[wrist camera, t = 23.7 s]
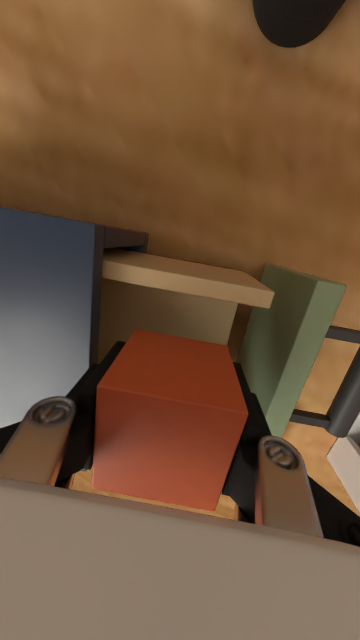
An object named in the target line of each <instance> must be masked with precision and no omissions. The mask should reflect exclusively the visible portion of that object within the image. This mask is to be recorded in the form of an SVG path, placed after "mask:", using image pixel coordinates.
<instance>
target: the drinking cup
mask: <svg viewBox="0 0 360 640" xmlns="http://www.w3.org/2000/svg"><path fill="white" fill-rule="evenodd" d="M345 1H346V0H253V6H254V13H255V17H256V20H257V23H258V25H259V27H260V29H261V31H262V32H263V34H264V35H265V36H266V37H267V38H268V39H269V40H270V41H271V42H273V43H274V44H276V45H278V46H282V47H297V46H301V45H304V44H306V43H308V42H309V41H311V40H313V39H314V38H315V37H317V36H318V35H319V34H320V33H321V32H322V31H323V30H324V29H325V28H326V27H327V25H328V24H329V23H330V21H331V20H332V19H333V17H334V16H335V14H336V13H337V12H338V10H339V9H340V8H341V6H342V5H343V4H344V2H345Z"/></svg>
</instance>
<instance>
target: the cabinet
mask: <svg viewBox="0 0 360 640" xmlns="http://www.w3.org/2000/svg"><path fill="white" fill-rule="evenodd" d="M147 240H148V233H146V232H140V231H135V230H129V229H124V228H118V227H113V226H107V225H102V224H96V223H91V222H85V221H80V220H74V219H69V218H63V217H58V216H52V215H47V214H41V213H36V212H30V211H25V210H19V209H14V208H8V207H3V206H0V428H3V427H6V426H9V425H12V424H14V423H17V422H20V421H22V420H23V418H24V416H25V415H26V413H27V412H28V410H29V409H30V408H31V407H32V406H33V405H34V404H35V403H37V402H38V401H40V400H43V399H45V398H49V397H53V396H63V397H65V396H66V395H67V394H68V393H69V392H70V390H71V389H72V388H73V387H74V386H75V384H76V383H77V382H78V381H79V380H80V378H81V377H82V376H83V375H84V374H85V372H86V371H87V370H88V369H89V368H90V366H91V365H92V364H97V362H98V343H99V323H100V304H101V284H102V265H103V248H117V249H123V250H128V251H134V252H139V253H145V254H146V249H147ZM86 470H87V469H82V470H81V471H86Z"/></svg>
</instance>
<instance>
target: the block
mask: <svg viewBox="0 0 360 640" xmlns="http://www.w3.org/2000/svg"><path fill="white" fill-rule="evenodd" d="M247 417H248V410H247V407H246V404H245V400H244V397H243V394H242V391H241V387H240V384H239V381H238V378H237V374H236V371H235V368H234V365H233V361H232V358H231V355H230V351H229V348H228V346H226V345H221V344H216V343H210V342H205V341H199V340H194V339H188V338H183V337H178V336H172V335H167V334H161V333H156V332H150V331H145V330H139V329H135V331H134V332H133V334H132V335H131V337H130V338H129V339H128V341H127V342H126V344H125V345H124V347H123V348H122V350H121V351H120V353H119V354H118V356H117V357H116V359H115V360H114V362H113V363H112V364H111V366H110V367H109V369H108V370H107V372H106V373H105V375H104V376H103V378H102V379H101V381H100V382H99V384H98V385H97V395H96V415H95V434H94V454H93V473H92V489H95V490H101V491H106V492H111V493H117V494H122V495H127V496H133V497H138V498H144V499H149V500H154V501H160V502H165V503H170V504H176V505H181V506H186V507H192V508H197V509H202V510H208V511H215V509H216V506H217V503H218V500H219V498H220V495H221V492H222V489H223V486H224V483H225V480H226V477H227V475H228V472H229V469H230V466H231V463H232V460H233V457H234V454H235V452H236V449H237V446H238V443H239V440H240V437H241V434H242V431H243V429H244V426H245V423H246V420H247Z"/></svg>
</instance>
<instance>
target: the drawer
mask: <svg viewBox="0 0 360 640" xmlns="http://www.w3.org/2000/svg"><path fill="white" fill-rule="evenodd" d="M345 289H346V285H343V284H340V283H337V282H333V281H330V280H326V279H323V278H320V277H316V276H313V275H309V274H306V273H303V272H299V271H296V270H292V269H289V268H286V267H282V266H277V265H272V264H265V268H264V271H263V274H262V278H261V281H260V282H259V281H257V280H256V279H254V278H253V277H251V276H249V275H248V274H246V273H245V272H243V271H238V270H232V269H227V268H221V267H216V266H210V265H205V264H199V263H194V262H188V261H183V260H178V259H172V258H167V257H161V256H156V255H150V254H145V253H139V252H134V251H128V250H123V249H117V248H103V265H102V284H101V304H100V323H99V343H98V362H97V364H100V362H101V361H102V360H103V359H104V357H105V356H106V355H107V354H108V352H109V351H110V350H111V348H112V347H113V346H114V345H115V343H116V342H117V341H123V342H127V341H128V339H129V338H130V337H131V335H132V334H133V332H134V331H135V329H139V330H145V331H150V332H156V333H161V334H167V335H172V336H178V337H183V338H188V339H194V340H199V341H205V342H210V343H216V344H221V345H226V346H227V343H228V339H229V335H230V332H231V328H232V324H233V320H234V317H235V313H236V309H237V306H238V303H239V304H245V305H250V306H253V308H252V312H251V315H250V318H249V322H248V325H247V329H246V332H245V335H244V339H243V342H242V346H241V349H240V352H239V356H238V359H237V363H240V364H241V366H242V369H243V372H244V375H245V377H246V380H247V383H248V386H249V388H250V391H251V392H252V393H255V394H256V396H257V398H258V401H259V403H260V406H261V408H262V411H263V413H264V416H265V419H266V421H267V424H268V426H269V429H270V431H271V434H272V435H273V436H277V437H280V438H282V435H283V433H284V431H285V428H286V426H287V424H288V421H291V422H296V423H301V424H307V425H312V426H317V427H323V428H325V430H327V431H328V432H329V433H330V434H332V435H334V436H336V437H339V438H345V437H346V436H347V434H348V432H349V431H350V429H351V427H352V425H353V423H354V422H355V420H356V418H357V416H358V415H359V413H360V347H359V349H358V351H357V353H356V355H355V357H354V359H353V361H352V363H351V365H350V367H349V369H348V371H347V373H346V375H345V377H344V380H343V382H342V384H341V386H340V388H339V390H338V392H337V394H336V396H335V398H334V400H333V402H332V404H331V406H330V408H329V410H328V412H327V414H326V415H323V414H318V413H313V412H308V411H302V410H297V409H294V407H295V405H296V403H297V400H298V398H299V396H300V393H301V391H302V389H303V386H304V384H305V382H306V379H307V377H308V375H309V372H310V370H311V368H312V365H313V363H314V361H315V358H316V356H317V354H318V351H319V349H320V347H321V345H322V342H323V340H324V338H325V337H326V338H332V339H337V340H343V341H348V342H353V343H359V344H360V331H359V330H353V329H348V328H342V327H337V326H331V325H330V324H331V321H332V319H333V317H334V314H335V312H336V310H337V307H338V305H339V303H340V300H341V298H342V296H343V293H344V291H345Z"/></svg>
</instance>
